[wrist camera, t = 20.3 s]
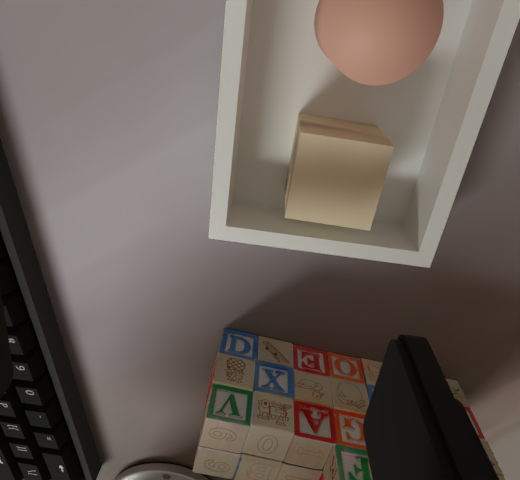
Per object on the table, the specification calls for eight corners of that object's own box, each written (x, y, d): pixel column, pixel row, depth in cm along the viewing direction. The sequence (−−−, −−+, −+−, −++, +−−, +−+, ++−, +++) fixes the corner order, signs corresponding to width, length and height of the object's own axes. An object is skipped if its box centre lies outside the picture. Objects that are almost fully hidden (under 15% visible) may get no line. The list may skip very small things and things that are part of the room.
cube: (357, 198, 29) (369, 230, 25) (285, 187, 29) (284, 217, 25) (377, 125, 27) (394, 146, 23) (298, 112, 27) (300, 132, 23)
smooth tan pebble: (390, 73, 26) (423, 92, 19) (307, 62, 26) (313, 77, 19) (414, -24, 23) (460, -38, 17) (323, -37, 23) (336, -56, 17)
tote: (409, 232, 31) (429, 268, 27) (219, 206, 31) (208, 238, 27) (504, -66, 23) (556, -84, 19) (245, -102, 23) (235, -130, 19)
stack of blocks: (210, 377, 40) (180, 515, 29) (223, 325, 37) (196, 456, 26) (430, 425, 41) (482, 575, 30) (460, 379, 38) (529, 526, 27)
